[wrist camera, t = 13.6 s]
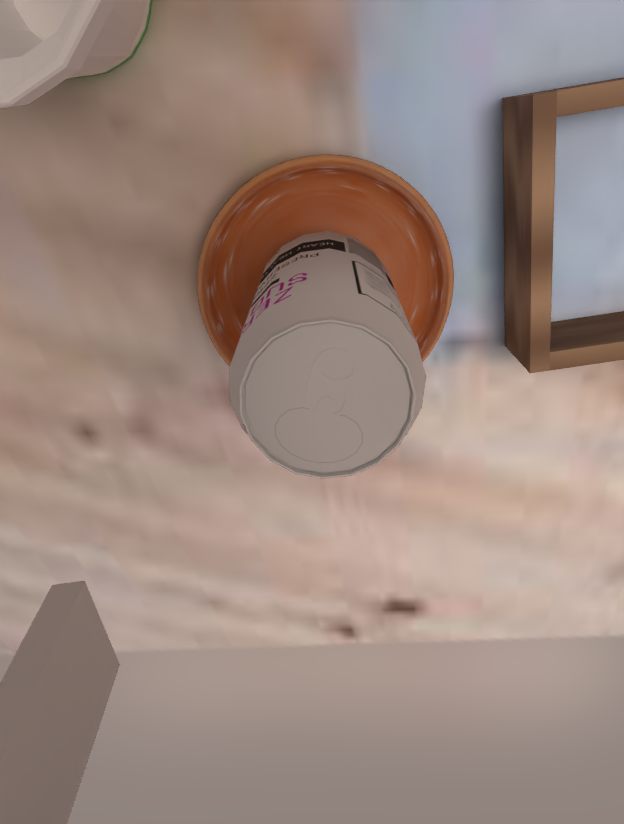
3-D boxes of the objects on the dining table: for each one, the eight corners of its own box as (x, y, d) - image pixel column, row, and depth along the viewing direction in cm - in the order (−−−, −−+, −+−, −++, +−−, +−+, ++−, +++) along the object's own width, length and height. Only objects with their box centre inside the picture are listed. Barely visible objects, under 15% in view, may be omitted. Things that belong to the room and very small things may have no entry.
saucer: (345, 430, 45) (348, 450, 42) (158, 309, 40) (148, 322, 37) (494, 255, 39) (508, 265, 36) (296, 92, 35) (296, 90, 32)
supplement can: (372, 369, 39) (399, 505, 26) (248, 344, 38) (209, 469, 25) (407, 246, 35) (460, 330, 22) (271, 215, 35) (240, 282, 21)
